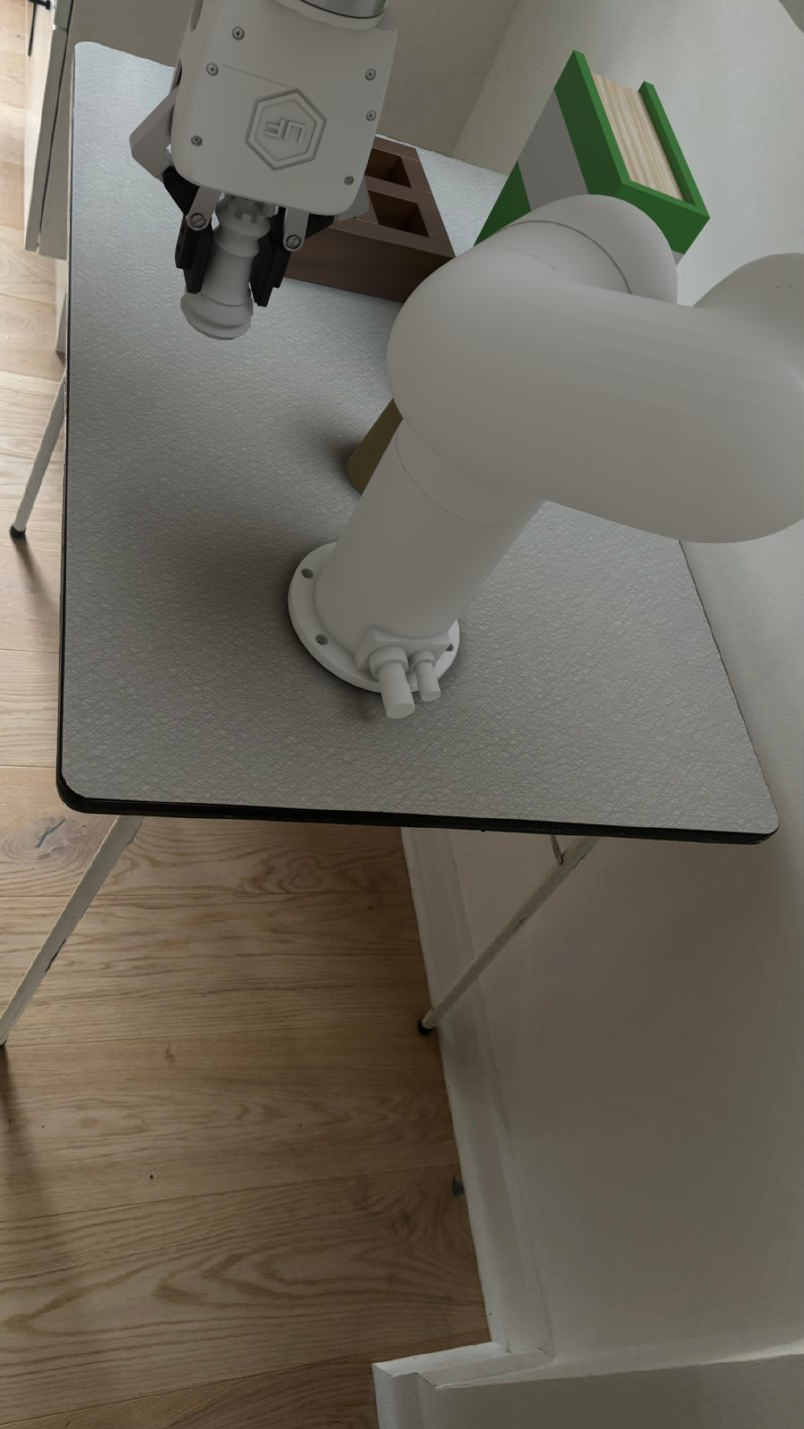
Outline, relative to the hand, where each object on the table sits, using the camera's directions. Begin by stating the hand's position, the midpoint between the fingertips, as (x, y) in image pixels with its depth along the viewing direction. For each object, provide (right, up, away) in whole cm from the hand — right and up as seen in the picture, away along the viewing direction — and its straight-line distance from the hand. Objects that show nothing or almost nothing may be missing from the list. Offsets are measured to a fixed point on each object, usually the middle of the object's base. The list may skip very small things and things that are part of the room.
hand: (224, 282), depth 61 cm
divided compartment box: (+4, +19, +34) cm, 39 cm away
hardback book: (+19, +4, +31) cm, 37 cm away
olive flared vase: (+9, -7, +19) cm, 22 cm away
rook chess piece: (-1, -1, +2) cm, 3 cm away
